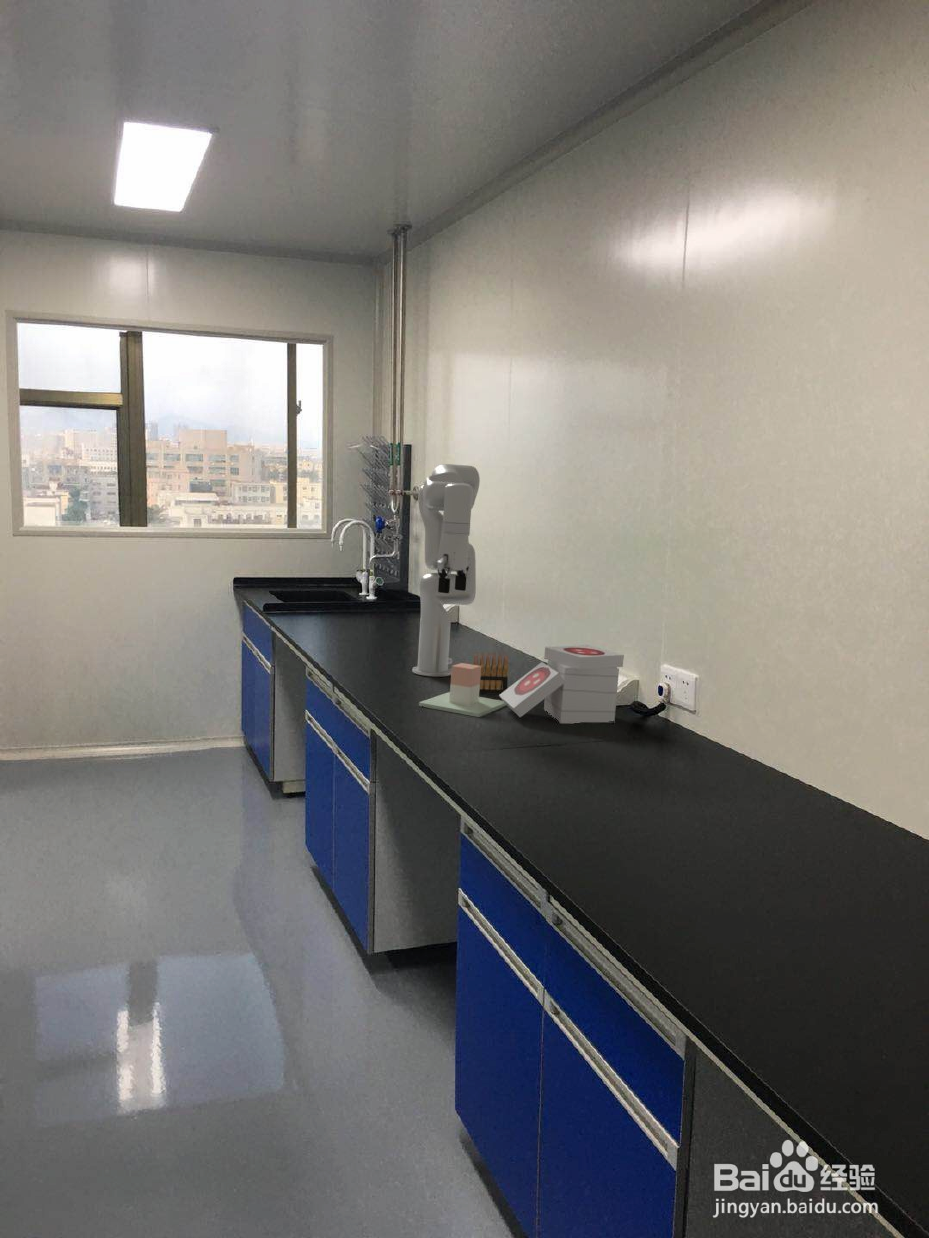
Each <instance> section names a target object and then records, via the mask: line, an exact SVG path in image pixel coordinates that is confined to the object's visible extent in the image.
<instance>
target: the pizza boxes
mask: <svg viewBox="0 0 929 1238" xmlns="http://www.w3.org/2000/svg"><path fill="white" fill-rule="evenodd" d="M624 657H625V655H624V654H622V653H617V652H615V651H610V650H607V649H604V648H599V647H596V646H592V645H589V644H583V645H582V644H581V645H562V646H561V645H559V646H545V647H544V657H543V659H544V660H547V664H546V663H544V662H543V661H541V662H539V663H538V664H537V665H536V666H534V667H533V668H532V669H530V671H528V672H527V673H525V675H523V676H522V677H521V678H519V679H518V680H517V681H515V682H514V683H513V684H512V685H510V686H508V687H507V689H506V690H505V691H504V692H502V693H501V694H498V696H499V698H500V699H501V701H504V703H505V704H506V705H507V706H506V707H508V708H510V709H511V711H513V712H514V713H515V714H516V715H517V716H518V717H519V718H521V717H523V716H525V714H527V713H528V712H529V711H530V710H532V709H533V708H534V707H535V706H537V705H538V704H539V703H541V702H543V700H544V705H543V706H544V707H543V710H544V711H545V712H546V711H547V712H548V713H547V712H546V713H547V714H549V713H550V714H549V715H550V716H551V715H552V716H551V717H552V718H553V717H554V718H553V719H555V718H556V719H557V720H558V721H559V723H560V724H574V723H580V722H609V721H614V722H615V719H616V718H615V717H616V708H617V706H616V705H617V697H618V685H619V676H620V668H623V667H624ZM556 719H555V720H556ZM557 720H556V721H557ZM558 721H557V722H558Z"/></svg>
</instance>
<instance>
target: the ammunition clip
mask: <svg viewBox="0 0 929 1238" xmlns="http://www.w3.org/2000/svg"><path fill="white" fill-rule="evenodd" d="M497 658H498V659H497ZM473 659H474V660H473V665H478V666H481V678H480V689H479V694H488V693H502V692H504V691H505V690H506V689H508V684H509V683H508V676H509V675H508V674H509V665H508V664H509V657H508V653H507V652H506V653H505V654H504V657H503V655H502V653H501V652H500V653H499V655H498V657H497V654H496V652H493V655H492V659H491V654H490V652H488V653H487V655H486V660H485V653H484V652H481V655H480V660H479V653H478V651H476V652H475V655H474V658H473ZM485 661H486V662H485Z"/></svg>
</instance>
